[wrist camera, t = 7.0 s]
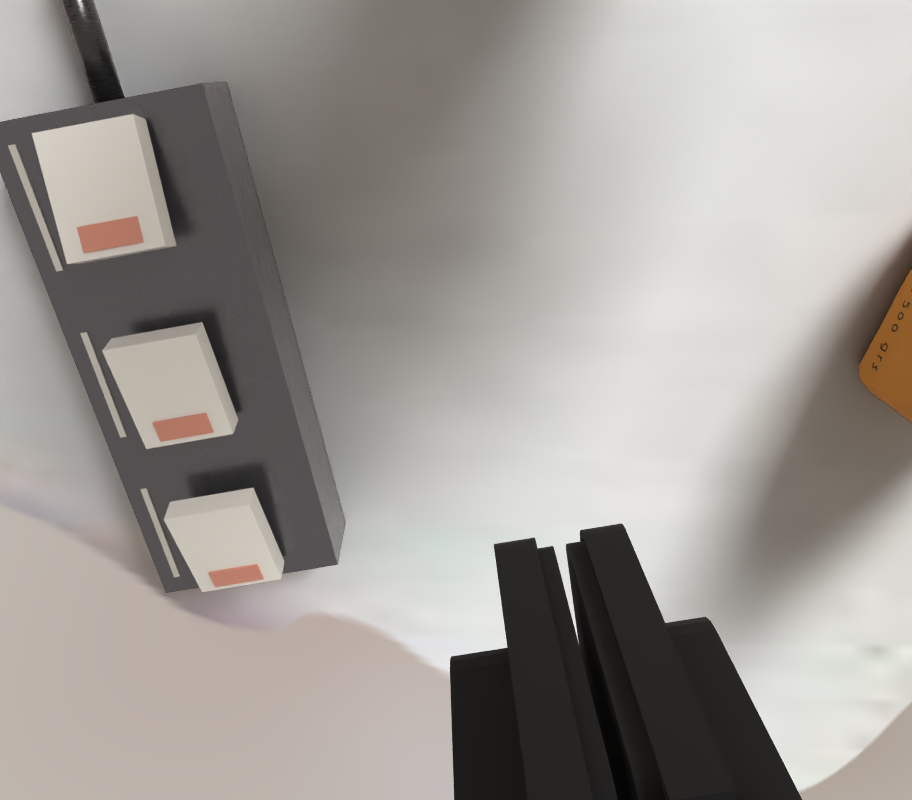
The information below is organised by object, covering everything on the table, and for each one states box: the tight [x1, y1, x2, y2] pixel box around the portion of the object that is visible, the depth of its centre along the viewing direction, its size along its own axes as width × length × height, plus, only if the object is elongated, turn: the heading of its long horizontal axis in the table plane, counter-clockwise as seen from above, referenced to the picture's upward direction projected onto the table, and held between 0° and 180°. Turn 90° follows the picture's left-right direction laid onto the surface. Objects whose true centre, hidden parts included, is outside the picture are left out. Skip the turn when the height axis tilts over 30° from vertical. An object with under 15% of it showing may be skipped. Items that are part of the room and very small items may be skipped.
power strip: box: [0, 0, 346, 593], centre depth 35 cm, size 29×9×5 cm, turn 10°
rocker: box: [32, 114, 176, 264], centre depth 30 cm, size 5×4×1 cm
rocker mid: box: [102, 322, 238, 449], centre depth 34 cm, size 5×4×1 cm
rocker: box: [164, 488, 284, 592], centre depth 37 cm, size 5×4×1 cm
